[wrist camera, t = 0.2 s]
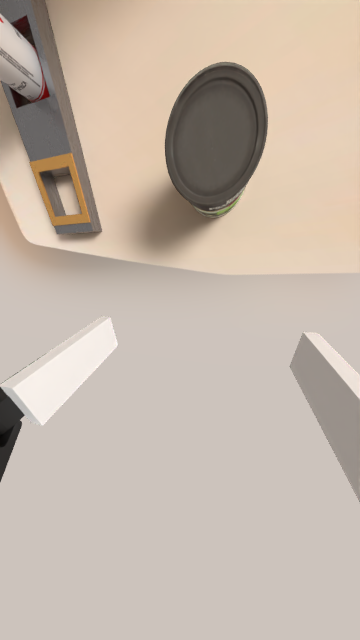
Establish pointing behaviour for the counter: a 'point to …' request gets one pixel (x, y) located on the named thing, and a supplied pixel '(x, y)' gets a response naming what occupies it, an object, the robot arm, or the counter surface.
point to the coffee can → (216, 137)
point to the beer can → (20, 64)
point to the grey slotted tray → (50, 123)
